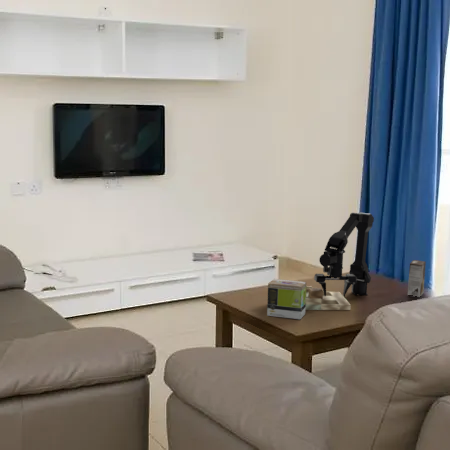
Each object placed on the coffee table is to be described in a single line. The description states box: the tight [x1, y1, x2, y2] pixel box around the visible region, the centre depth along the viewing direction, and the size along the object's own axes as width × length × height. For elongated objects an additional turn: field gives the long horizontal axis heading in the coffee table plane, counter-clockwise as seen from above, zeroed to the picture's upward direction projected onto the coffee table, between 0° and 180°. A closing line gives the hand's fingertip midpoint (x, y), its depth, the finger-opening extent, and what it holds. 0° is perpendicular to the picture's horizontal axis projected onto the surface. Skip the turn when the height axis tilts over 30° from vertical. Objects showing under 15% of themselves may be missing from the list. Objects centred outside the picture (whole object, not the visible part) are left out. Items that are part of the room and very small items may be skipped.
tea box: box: [266, 278, 307, 320], centre depth 318 cm, size 15×10×15 cm, turn 71°
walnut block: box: [308, 287, 323, 300], centre depth 338 cm, size 6×6×4 cm
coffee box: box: [407, 259, 427, 298], centre depth 358 cm, size 9×6×16 cm
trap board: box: [305, 285, 352, 311], centre depth 339 cm, size 21×22×5 cm
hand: (334, 296), depth 339 cm, fingers open, 8 cm apart
